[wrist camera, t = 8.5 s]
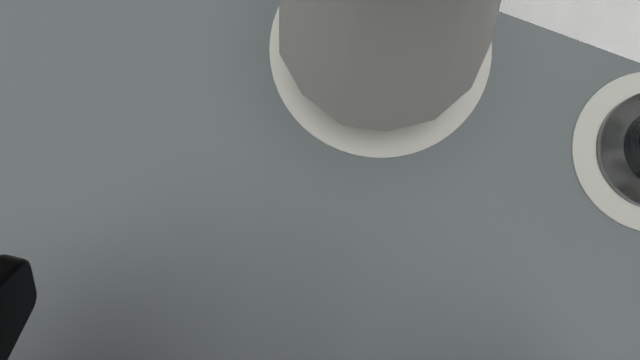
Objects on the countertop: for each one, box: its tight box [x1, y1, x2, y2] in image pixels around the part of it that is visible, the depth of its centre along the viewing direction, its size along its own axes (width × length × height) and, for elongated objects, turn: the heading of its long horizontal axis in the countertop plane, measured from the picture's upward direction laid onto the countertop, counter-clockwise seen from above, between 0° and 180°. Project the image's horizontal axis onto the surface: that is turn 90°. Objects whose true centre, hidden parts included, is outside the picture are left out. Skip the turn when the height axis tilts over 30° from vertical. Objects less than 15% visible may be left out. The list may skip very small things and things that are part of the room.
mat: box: [0, 0, 640, 360], centre depth 19 cm, size 17×25×1 cm
